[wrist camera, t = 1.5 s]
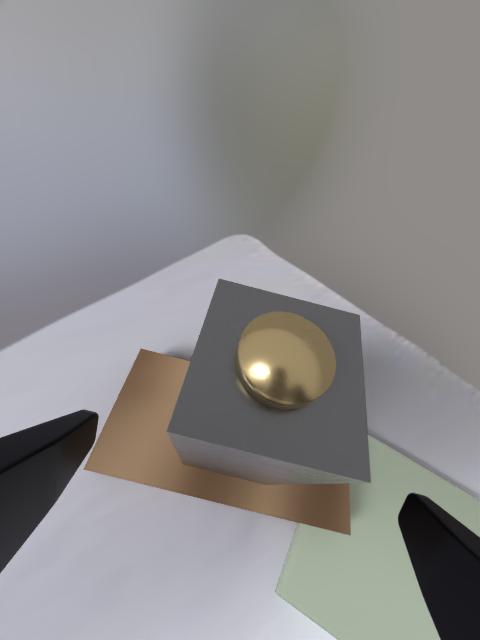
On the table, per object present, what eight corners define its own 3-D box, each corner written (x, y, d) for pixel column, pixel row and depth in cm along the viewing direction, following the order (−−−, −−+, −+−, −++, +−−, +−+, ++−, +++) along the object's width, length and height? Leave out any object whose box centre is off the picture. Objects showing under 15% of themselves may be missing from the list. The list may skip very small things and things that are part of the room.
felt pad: (474, 500, 17) (480, 500, 17) (472, 738, 12) (480, 745, 11) (333, 416, 18) (336, 415, 18) (275, 592, 13) (277, 594, 13)
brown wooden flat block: (333, 408, 19) (346, 401, 17) (333, 530, 15) (350, 535, 13) (145, 360, 19) (140, 348, 17) (95, 471, 15) (83, 469, 13)
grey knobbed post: (275, 402, 16) (370, 303, 8) (264, 484, 14) (388, 482, 5) (206, 384, 16) (220, 264, 7) (182, 464, 14) (163, 426, 5)
